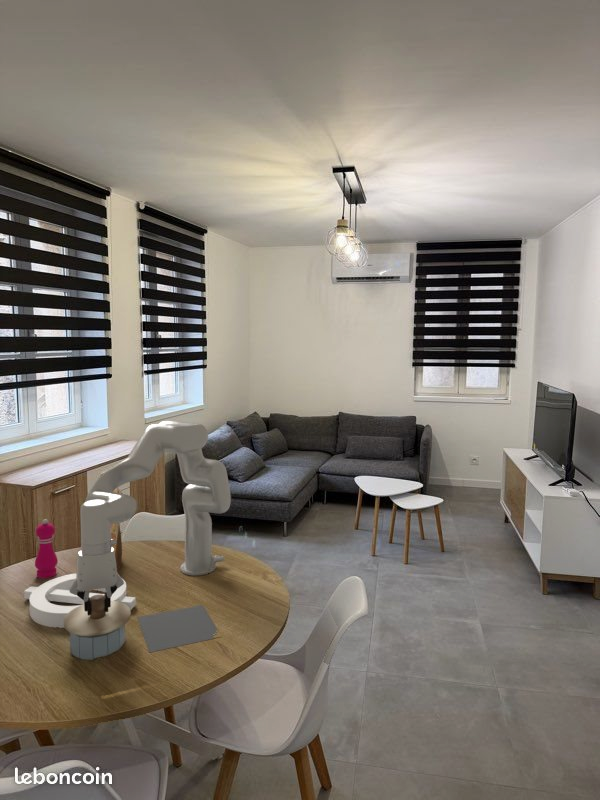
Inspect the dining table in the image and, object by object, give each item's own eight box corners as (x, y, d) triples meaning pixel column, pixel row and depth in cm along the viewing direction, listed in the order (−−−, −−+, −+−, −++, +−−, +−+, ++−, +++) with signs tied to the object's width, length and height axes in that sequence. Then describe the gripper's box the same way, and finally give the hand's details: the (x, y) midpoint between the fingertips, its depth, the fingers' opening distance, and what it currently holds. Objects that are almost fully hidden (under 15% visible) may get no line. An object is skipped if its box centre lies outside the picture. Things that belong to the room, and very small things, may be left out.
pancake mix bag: (121, 551, 215) (120, 481, 211) (127, 571, 197) (126, 495, 194) (103, 554, 212) (101, 483, 209) (107, 574, 195) (106, 496, 191)
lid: (125, 599, 161) (125, 579, 160) (135, 627, 146) (135, 606, 145) (62, 610, 154) (61, 590, 153) (65, 641, 138) (64, 619, 138)
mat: (202, 606, 173) (202, 604, 173) (221, 638, 155) (221, 636, 155) (137, 618, 165) (137, 617, 165) (149, 654, 147) (149, 652, 147)
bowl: (120, 627, 160) (120, 607, 159) (127, 652, 147) (127, 631, 147) (69, 637, 154) (68, 617, 153) (72, 664, 142) (71, 642, 141)
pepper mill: (61, 570, 196) (60, 516, 194) (50, 579, 189) (49, 523, 187) (42, 569, 197) (41, 515, 195) (30, 578, 190) (29, 522, 188)
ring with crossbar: (22, 599, 176) (21, 584, 175) (111, 578, 192) (110, 565, 192) (40, 639, 153) (39, 623, 153) (139, 611, 170) (139, 597, 169)
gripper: (126, 537, 154) (127, 599, 157) (61, 546, 147) (63, 611, 149) (130, 547, 148) (131, 612, 150) (63, 556, 141) (64, 624, 143)
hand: (97, 610), depth 150 cm, fingers closed on lid, 3 cm apart
